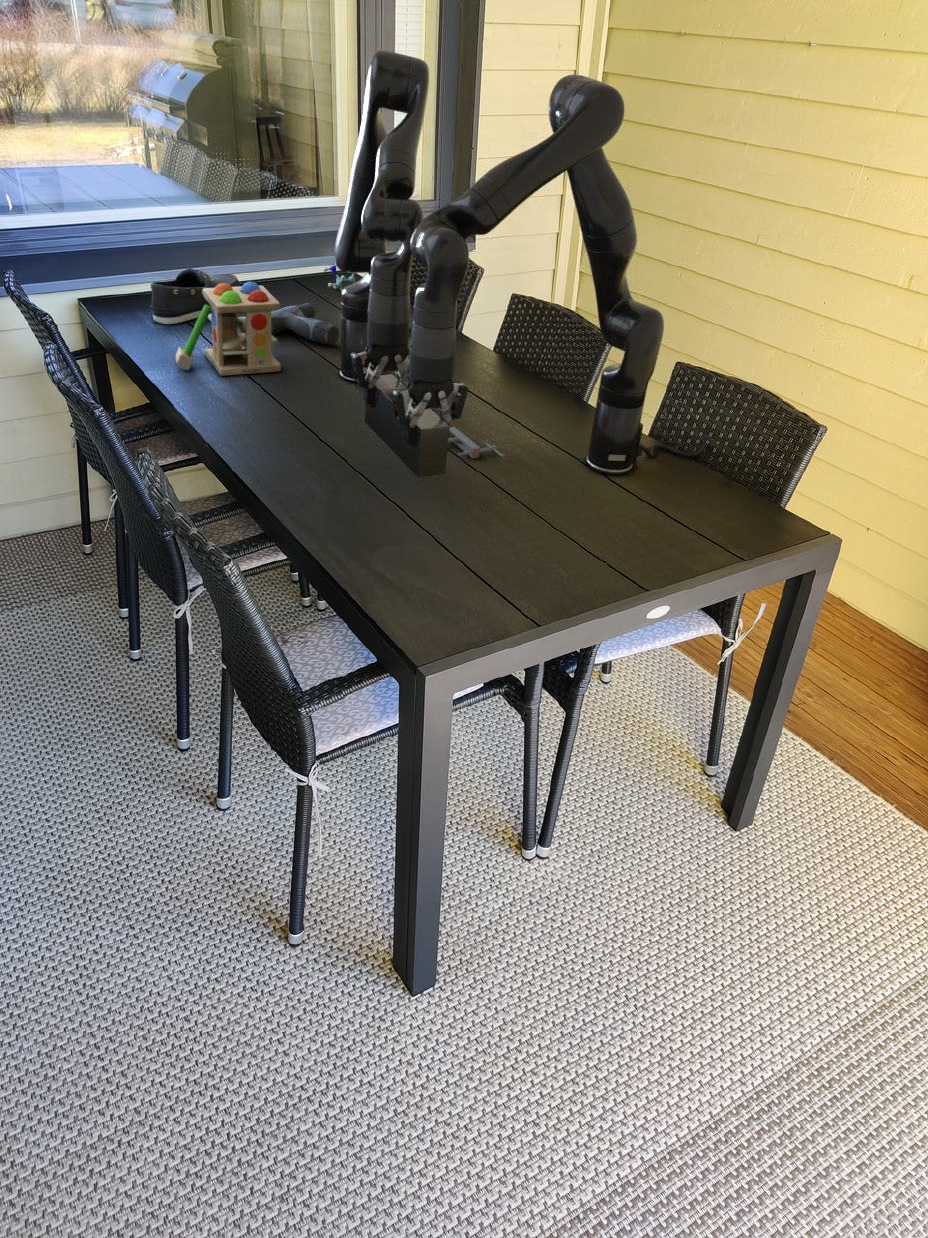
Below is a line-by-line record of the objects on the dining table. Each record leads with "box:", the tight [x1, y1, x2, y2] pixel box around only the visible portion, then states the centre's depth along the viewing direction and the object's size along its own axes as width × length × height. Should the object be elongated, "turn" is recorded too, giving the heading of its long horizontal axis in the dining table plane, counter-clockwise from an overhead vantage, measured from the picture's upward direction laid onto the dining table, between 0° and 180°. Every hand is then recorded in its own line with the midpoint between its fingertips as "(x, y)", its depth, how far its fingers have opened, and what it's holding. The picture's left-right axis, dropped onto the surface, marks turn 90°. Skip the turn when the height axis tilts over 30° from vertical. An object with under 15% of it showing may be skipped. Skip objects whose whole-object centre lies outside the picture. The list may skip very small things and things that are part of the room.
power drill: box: [271, 302, 340, 346], centre depth 252 cm, size 5×19×20 cm
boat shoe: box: [150, 268, 242, 325], centre depth 260 cm, size 13×33×10 cm, turn 147°
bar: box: [364, 373, 449, 478], centre depth 180 cm, size 25×5×9 cm, turn 27°
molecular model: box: [322, 261, 356, 292], centre depth 284 cm, size 12×10×10 cm
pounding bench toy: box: [174, 281, 282, 377], centre depth 225 cm, size 23×14×18 cm, turn 116°
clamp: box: [448, 426, 507, 460], centre depth 201 cm, size 15×2×10 cm
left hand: (385, 403), depth 186 cm, fingers closed on bar, 5 cm apart
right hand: (426, 442), depth 173 cm, fingers closed on bar, 5 cm apart
